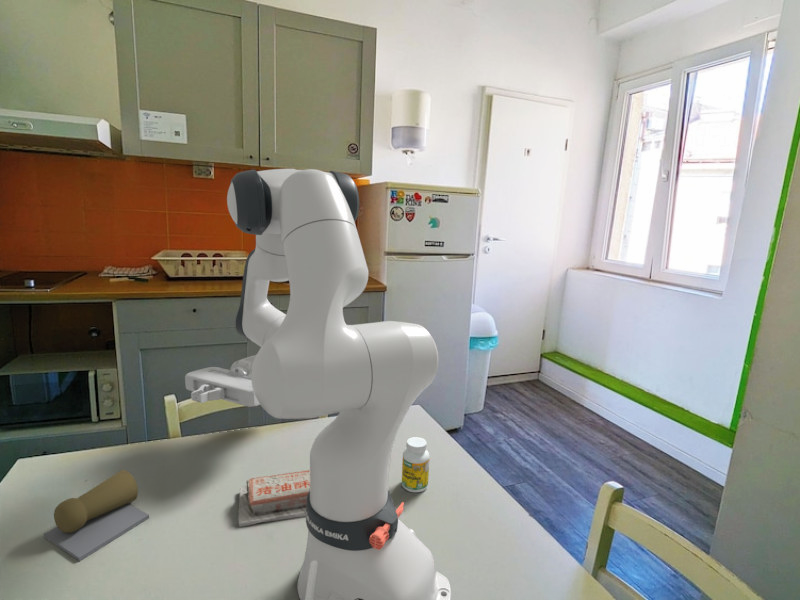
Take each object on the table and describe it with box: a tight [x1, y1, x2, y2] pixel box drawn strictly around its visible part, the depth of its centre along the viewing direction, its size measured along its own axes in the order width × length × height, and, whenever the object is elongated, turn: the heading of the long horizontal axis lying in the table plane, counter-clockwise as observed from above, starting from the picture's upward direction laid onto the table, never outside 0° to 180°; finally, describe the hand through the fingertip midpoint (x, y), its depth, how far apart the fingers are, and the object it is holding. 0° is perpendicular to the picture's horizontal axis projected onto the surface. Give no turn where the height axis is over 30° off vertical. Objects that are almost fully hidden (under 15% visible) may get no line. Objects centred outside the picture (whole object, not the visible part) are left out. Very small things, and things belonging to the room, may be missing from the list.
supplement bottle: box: [401, 436, 431, 493], centre depth 87 cm, size 5×5×10 cm
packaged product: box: [237, 469, 310, 528], centre depth 81 cm, size 18×5×10 cm
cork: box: [53, 469, 139, 533], centre depth 74 cm, size 6×6×11 cm
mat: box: [43, 503, 150, 562], centre depth 72 cm, size 10×11×1 cm
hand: (195, 398), depth 86 cm, fingers closed
